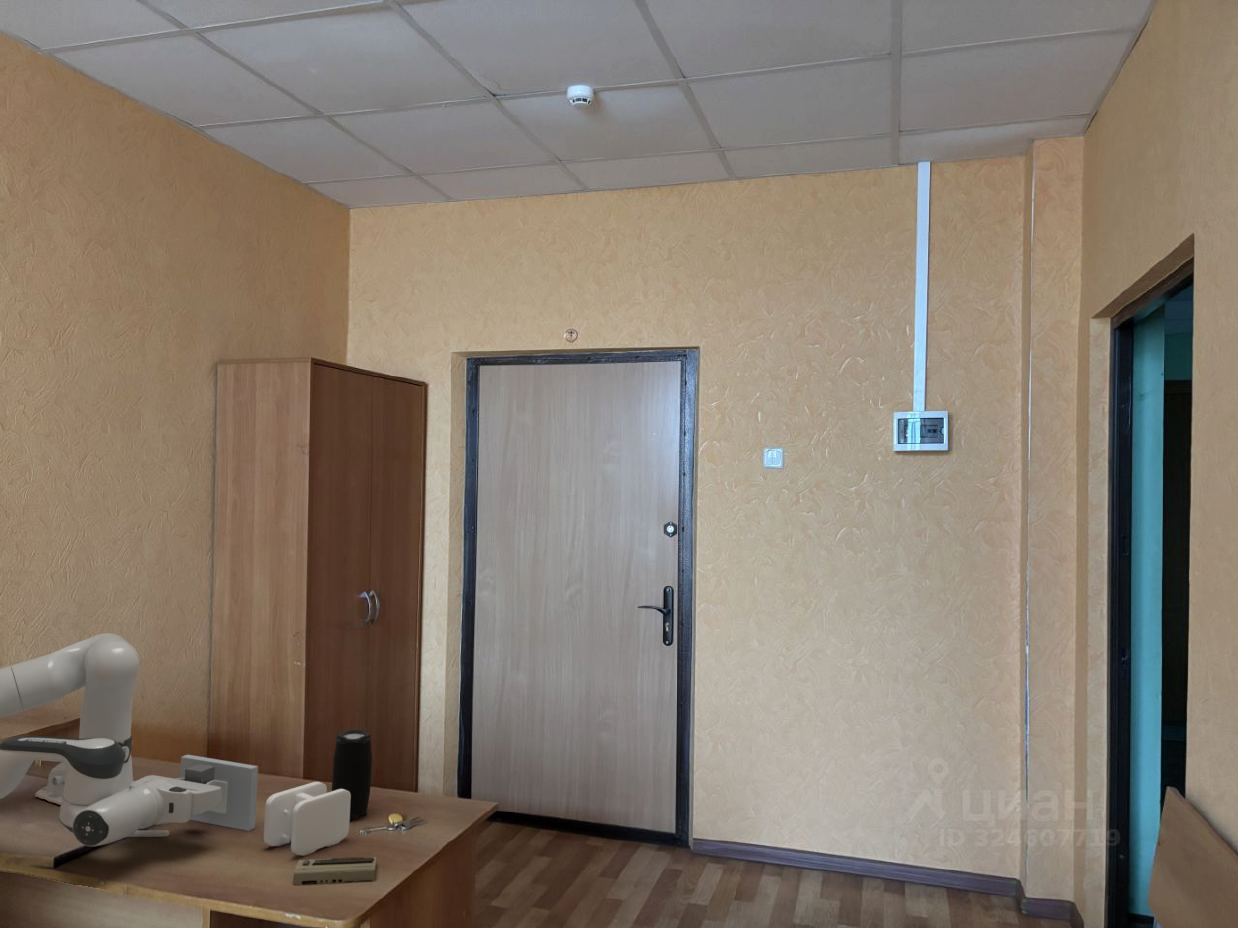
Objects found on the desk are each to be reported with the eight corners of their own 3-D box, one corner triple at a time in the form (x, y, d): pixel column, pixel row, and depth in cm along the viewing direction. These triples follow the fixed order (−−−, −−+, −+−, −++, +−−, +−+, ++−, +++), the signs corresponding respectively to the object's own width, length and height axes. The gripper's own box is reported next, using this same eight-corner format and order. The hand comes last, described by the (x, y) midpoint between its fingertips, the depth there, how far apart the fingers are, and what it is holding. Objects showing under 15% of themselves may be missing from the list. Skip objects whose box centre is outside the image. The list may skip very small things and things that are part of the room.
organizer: (291, 862, 187) (294, 806, 187) (261, 848, 193) (263, 794, 193) (349, 840, 200) (352, 787, 200) (319, 828, 206) (321, 777, 206)
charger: (182, 809, 199) (184, 768, 199) (200, 801, 204) (202, 762, 204) (199, 812, 197) (201, 771, 198) (216, 804, 202) (218, 764, 203)
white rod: (126, 838, 196) (126, 831, 196) (128, 835, 197) (128, 829, 197) (167, 837, 197) (168, 831, 197) (170, 835, 198) (170, 828, 198)
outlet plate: (176, 817, 208) (179, 757, 208) (184, 814, 210) (187, 754, 210) (247, 831, 202) (250, 769, 202) (254, 827, 204) (258, 766, 204)
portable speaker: (343, 806, 219) (348, 726, 220) (376, 812, 216) (381, 731, 217) (322, 818, 211) (326, 735, 212) (355, 824, 208) (360, 740, 209)
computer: (376, 866, 188) (377, 850, 188) (374, 883, 180) (375, 866, 180) (298, 870, 185) (298, 853, 185) (292, 887, 177) (293, 871, 177)
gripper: (113, 809, 191) (164, 789, 204) (190, 824, 185) (238, 802, 198) (115, 779, 191) (166, 761, 204) (192, 793, 185) (239, 773, 198)
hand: (202, 781), depth 201 cm, fingers closed on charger, 4 cm apart
